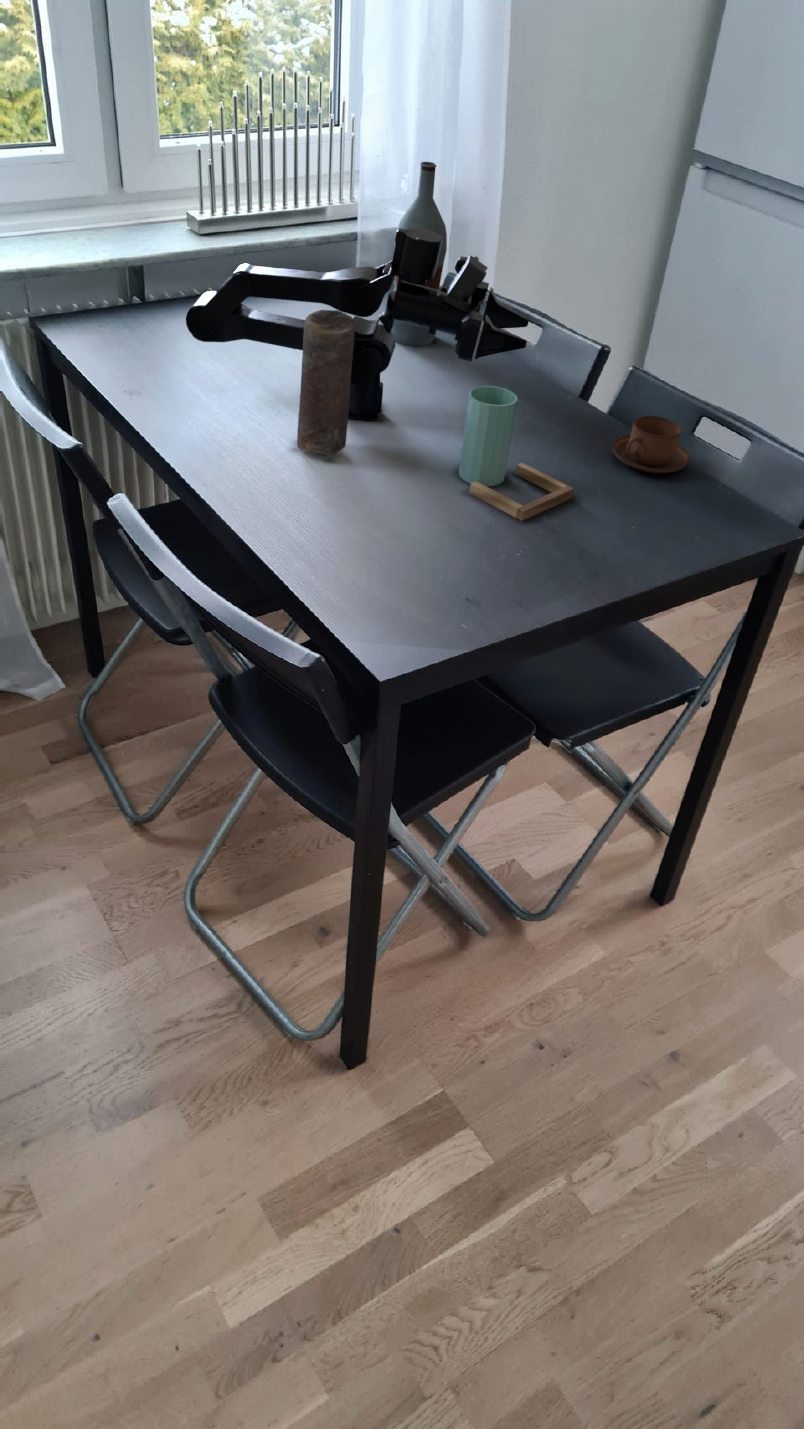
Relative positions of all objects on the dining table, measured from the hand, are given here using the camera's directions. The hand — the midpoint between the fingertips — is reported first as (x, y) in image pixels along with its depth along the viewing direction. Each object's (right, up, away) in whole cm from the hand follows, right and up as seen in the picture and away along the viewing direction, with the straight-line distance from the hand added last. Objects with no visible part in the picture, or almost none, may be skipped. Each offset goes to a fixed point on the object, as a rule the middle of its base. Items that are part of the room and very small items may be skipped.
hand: (527, 333), depth 169 cm
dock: (-2, -26, -6) cm, 26 cm away
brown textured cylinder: (-31, -18, -1) cm, 36 cm away
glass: (-7, -22, -3) cm, 23 cm away
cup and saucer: (+20, -18, +6) cm, 28 cm away
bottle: (-17, +12, +39) cm, 44 cm away
